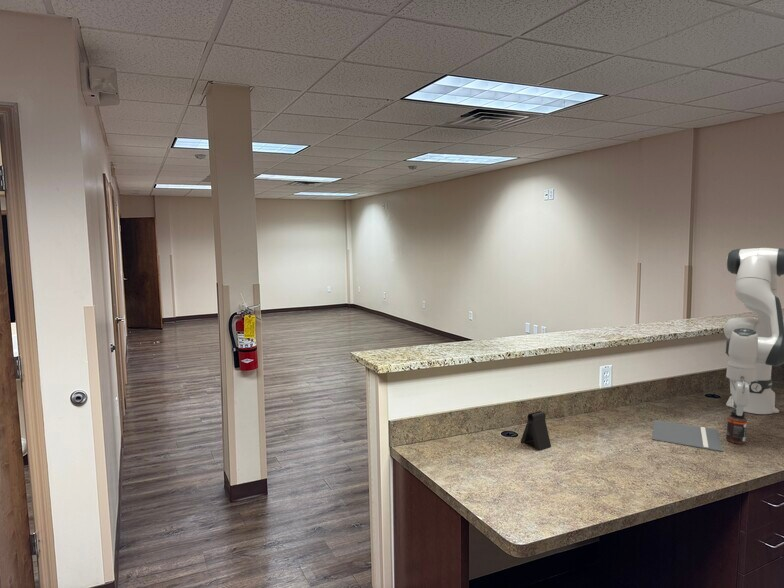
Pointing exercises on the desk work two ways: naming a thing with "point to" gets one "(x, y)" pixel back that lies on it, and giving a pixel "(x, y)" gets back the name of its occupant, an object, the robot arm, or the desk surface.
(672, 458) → the desk surface
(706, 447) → the mat
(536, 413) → the phone stand
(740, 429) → the supplement bottle
